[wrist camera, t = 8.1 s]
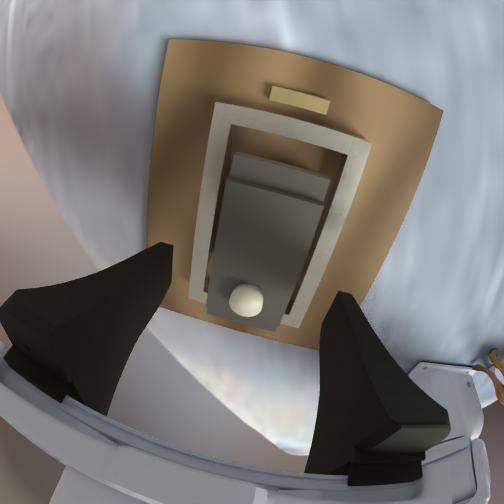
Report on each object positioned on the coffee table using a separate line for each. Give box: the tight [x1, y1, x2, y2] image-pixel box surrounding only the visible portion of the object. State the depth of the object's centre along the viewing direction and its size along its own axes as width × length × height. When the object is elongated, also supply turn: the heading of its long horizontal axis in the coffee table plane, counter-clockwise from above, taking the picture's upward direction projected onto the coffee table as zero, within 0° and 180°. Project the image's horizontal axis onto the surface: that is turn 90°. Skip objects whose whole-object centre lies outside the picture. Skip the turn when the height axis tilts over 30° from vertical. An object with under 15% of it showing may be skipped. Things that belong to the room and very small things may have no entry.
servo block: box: [206, 152, 330, 332], centre depth 15 cm, size 4×9×6 cm, turn 168°
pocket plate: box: [147, 39, 443, 350], centre depth 17 cm, size 16×20×2 cm
